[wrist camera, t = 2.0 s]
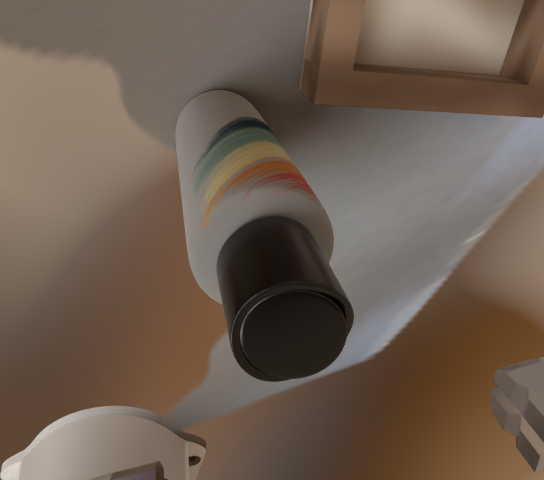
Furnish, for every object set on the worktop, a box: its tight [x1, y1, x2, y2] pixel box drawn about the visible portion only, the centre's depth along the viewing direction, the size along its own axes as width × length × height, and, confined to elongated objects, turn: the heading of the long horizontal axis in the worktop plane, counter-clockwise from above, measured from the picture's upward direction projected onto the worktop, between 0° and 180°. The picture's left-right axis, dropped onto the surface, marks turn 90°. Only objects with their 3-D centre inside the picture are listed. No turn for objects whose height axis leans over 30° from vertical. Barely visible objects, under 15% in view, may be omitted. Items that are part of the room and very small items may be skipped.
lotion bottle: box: [176, 90, 354, 382], centre depth 22 cm, size 6×6×20 cm
